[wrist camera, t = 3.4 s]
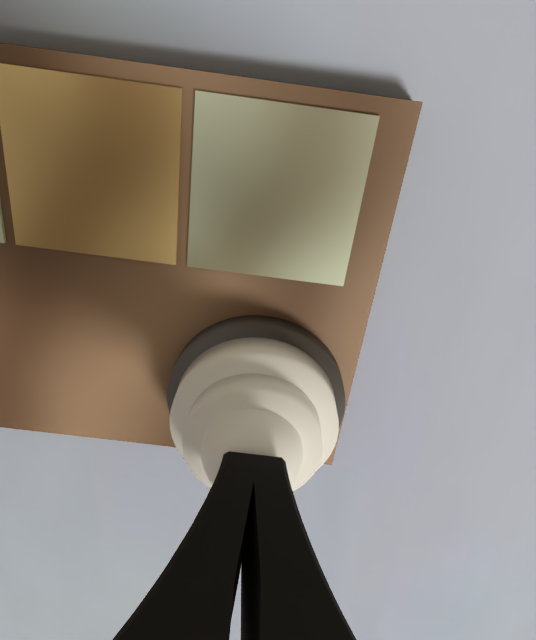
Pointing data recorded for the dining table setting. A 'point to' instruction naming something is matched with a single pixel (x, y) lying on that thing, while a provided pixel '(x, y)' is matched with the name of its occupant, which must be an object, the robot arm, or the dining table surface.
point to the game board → (179, 231)
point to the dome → (254, 408)
